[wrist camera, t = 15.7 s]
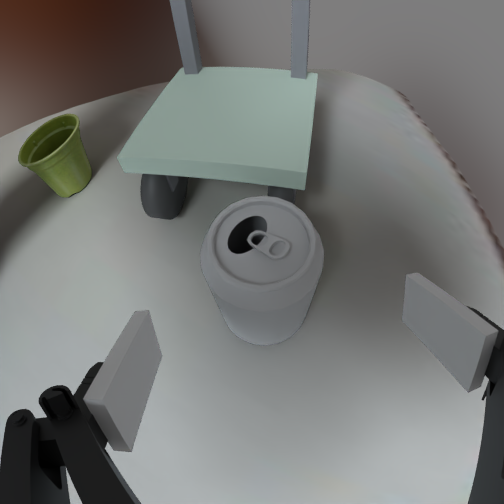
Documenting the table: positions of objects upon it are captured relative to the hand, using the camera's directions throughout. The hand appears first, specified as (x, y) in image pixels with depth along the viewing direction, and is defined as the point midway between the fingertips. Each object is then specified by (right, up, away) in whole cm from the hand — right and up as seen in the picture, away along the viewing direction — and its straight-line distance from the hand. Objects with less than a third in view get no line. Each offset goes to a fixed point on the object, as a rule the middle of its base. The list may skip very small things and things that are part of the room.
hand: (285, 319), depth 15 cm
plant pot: (-26, +13, +23) cm, 37 cm away
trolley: (-3, +12, +21) cm, 24 cm away
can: (0, -2, +13) cm, 13 cm away
